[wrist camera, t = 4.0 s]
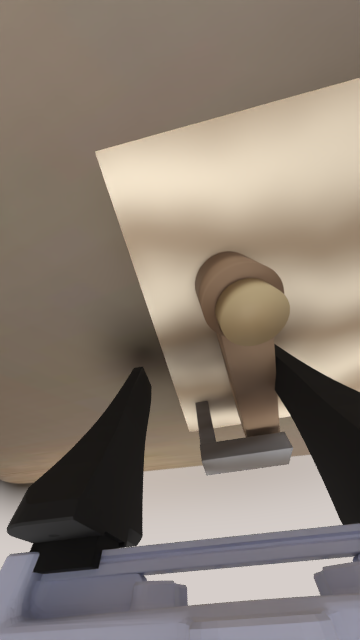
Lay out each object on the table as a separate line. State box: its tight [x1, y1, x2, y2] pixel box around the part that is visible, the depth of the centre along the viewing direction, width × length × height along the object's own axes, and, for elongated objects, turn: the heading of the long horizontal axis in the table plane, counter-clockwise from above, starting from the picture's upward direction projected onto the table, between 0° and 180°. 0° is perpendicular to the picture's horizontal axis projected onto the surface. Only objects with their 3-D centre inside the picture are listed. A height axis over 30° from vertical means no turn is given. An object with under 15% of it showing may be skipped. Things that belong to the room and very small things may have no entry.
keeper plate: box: [95, 78, 360, 475], centre depth 11 cm, size 23×20×6 cm
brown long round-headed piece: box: [195, 251, 284, 437], centre depth 12 cm, size 15×4×3 cm, turn 18°
